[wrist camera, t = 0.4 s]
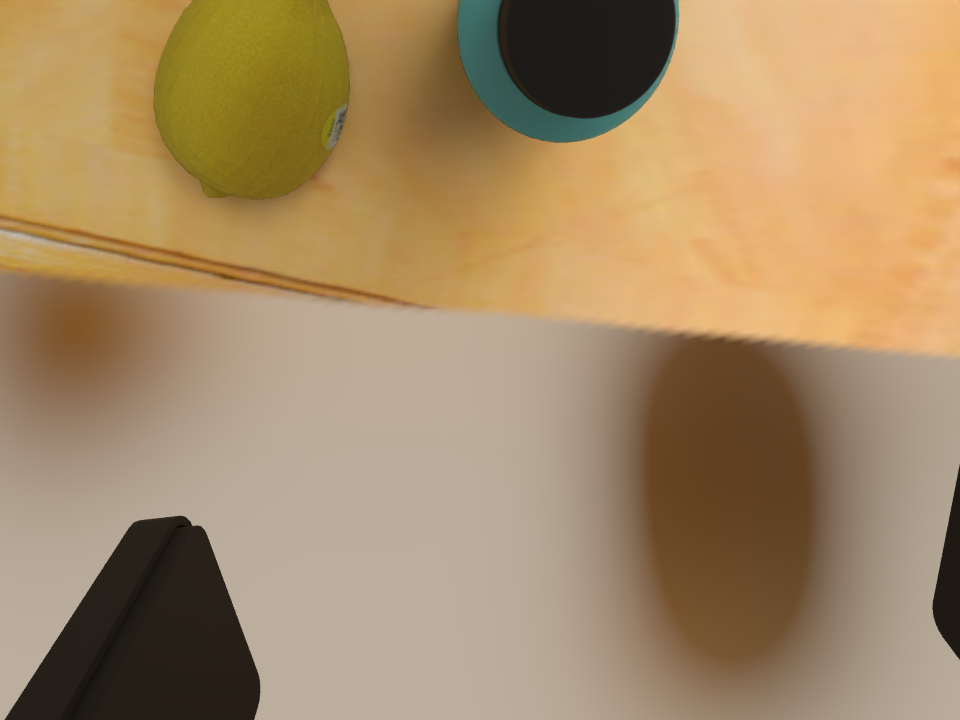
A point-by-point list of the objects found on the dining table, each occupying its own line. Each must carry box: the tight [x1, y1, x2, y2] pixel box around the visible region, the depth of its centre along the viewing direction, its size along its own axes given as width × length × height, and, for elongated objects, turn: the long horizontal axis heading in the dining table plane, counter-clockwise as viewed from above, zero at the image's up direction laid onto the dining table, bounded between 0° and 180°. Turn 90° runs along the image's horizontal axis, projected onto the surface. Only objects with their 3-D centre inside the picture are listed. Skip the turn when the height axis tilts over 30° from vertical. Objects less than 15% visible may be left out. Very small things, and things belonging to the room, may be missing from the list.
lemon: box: [154, 0, 350, 199], centre depth 32 cm, size 11×8×8 cm
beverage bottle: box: [457, 0, 679, 143], centre depth 25 cm, size 6×7×20 cm
